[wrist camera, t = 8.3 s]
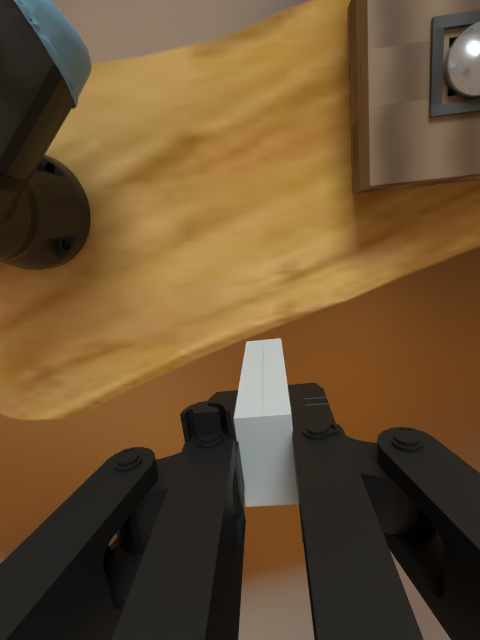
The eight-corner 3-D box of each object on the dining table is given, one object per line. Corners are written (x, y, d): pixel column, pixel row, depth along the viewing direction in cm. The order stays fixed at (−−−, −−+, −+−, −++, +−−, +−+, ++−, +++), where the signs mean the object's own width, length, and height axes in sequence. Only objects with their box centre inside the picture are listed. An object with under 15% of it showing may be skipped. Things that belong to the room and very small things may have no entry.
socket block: (352, 193, 46) (371, 185, 37) (347, 8, 41) (368, -48, 33) (521, 174, 44) (580, 162, 35) (536, -22, 39) (609, -90, 31)
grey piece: (413, 123, 42) (447, 98, 34) (414, 65, 41) (450, 25, 33) (466, 116, 42) (515, 89, 34) (469, 58, 40) (520, 15, 32)
